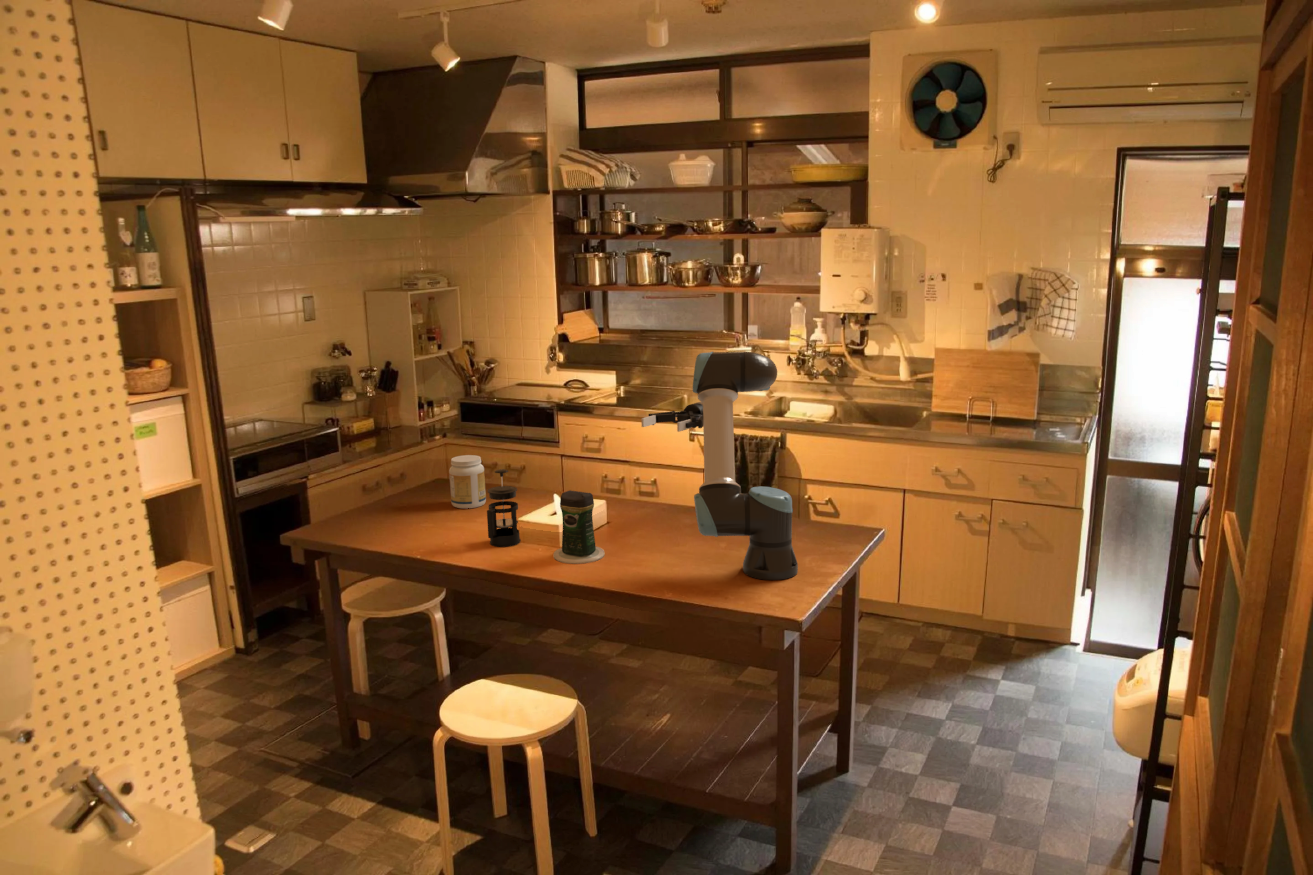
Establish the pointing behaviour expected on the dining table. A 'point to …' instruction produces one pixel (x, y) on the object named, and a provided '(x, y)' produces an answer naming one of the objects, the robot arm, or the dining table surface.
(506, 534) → the french press
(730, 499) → the robot arm
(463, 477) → the supplement tub
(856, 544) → the dining table surface
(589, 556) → the grey plate
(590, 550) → the coffee jar
